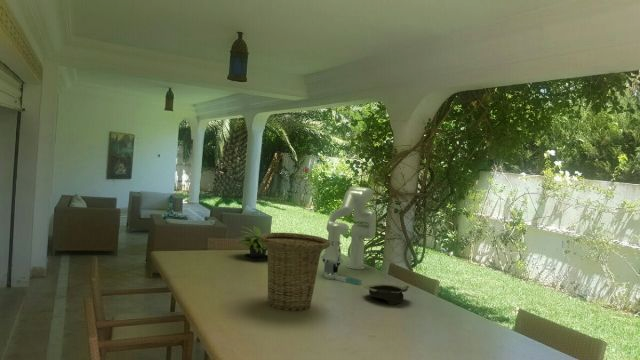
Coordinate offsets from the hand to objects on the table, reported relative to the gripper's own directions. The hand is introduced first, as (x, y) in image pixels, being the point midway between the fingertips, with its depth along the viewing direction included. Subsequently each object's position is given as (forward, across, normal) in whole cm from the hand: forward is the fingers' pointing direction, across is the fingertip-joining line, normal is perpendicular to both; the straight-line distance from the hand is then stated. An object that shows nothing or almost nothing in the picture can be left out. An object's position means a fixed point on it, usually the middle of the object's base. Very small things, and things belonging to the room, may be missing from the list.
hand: (330, 270), depth 306 cm
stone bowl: (+5, -46, +20) cm, 50 cm away
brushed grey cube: (+1, 0, 0) cm, 1 cm away
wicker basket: (+5, -15, +68) cm, 70 cm away
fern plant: (+5, +64, -7) cm, 65 cm away
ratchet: (+5, -8, 0) cm, 10 cm away
